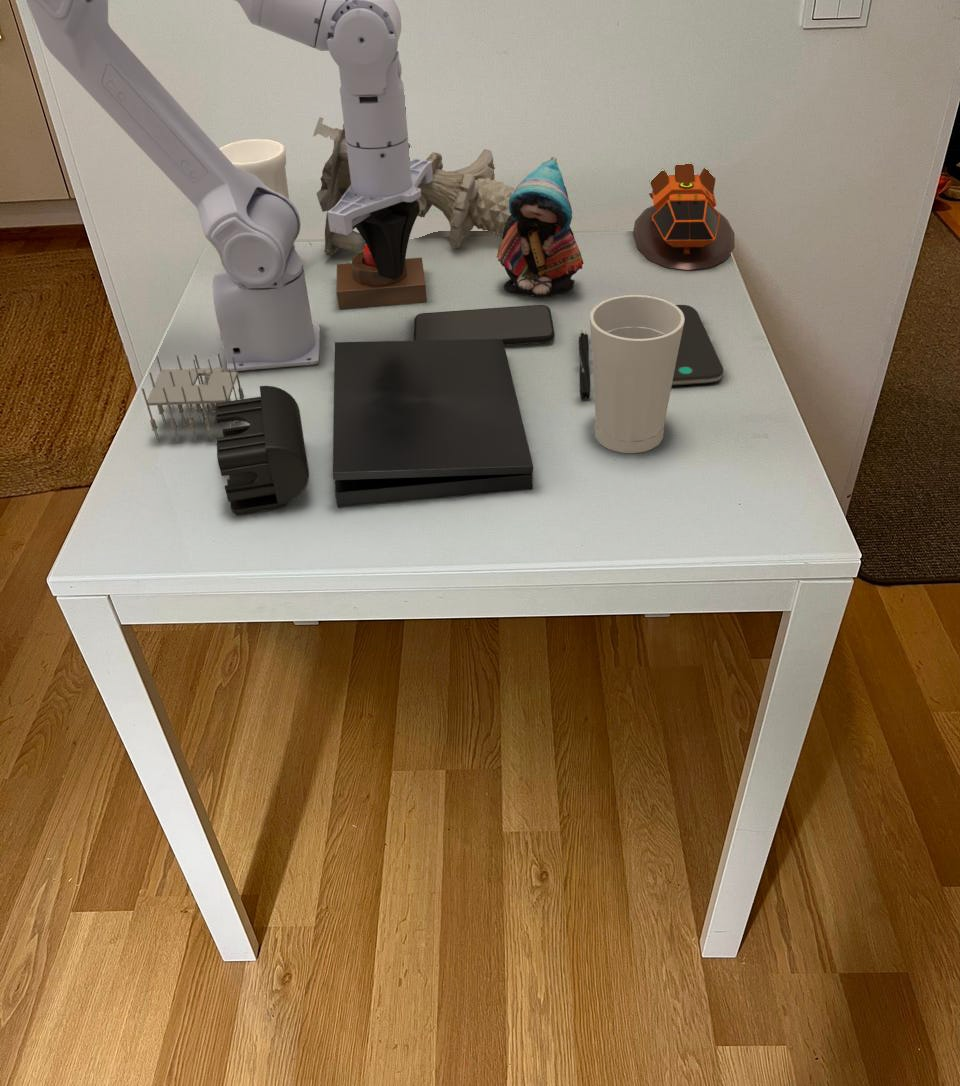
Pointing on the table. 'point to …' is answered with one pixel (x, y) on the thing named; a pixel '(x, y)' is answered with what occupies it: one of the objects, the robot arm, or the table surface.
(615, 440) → the cup
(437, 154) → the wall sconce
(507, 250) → the figurine
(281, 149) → the cup
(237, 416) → the end cap
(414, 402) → the laptop screen
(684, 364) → the smartphone
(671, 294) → the table surface
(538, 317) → the smartphone
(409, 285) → the switch block
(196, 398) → the building frame
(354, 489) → the laptop
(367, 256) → the button
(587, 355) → the black pen
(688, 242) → the toy spacecraft
